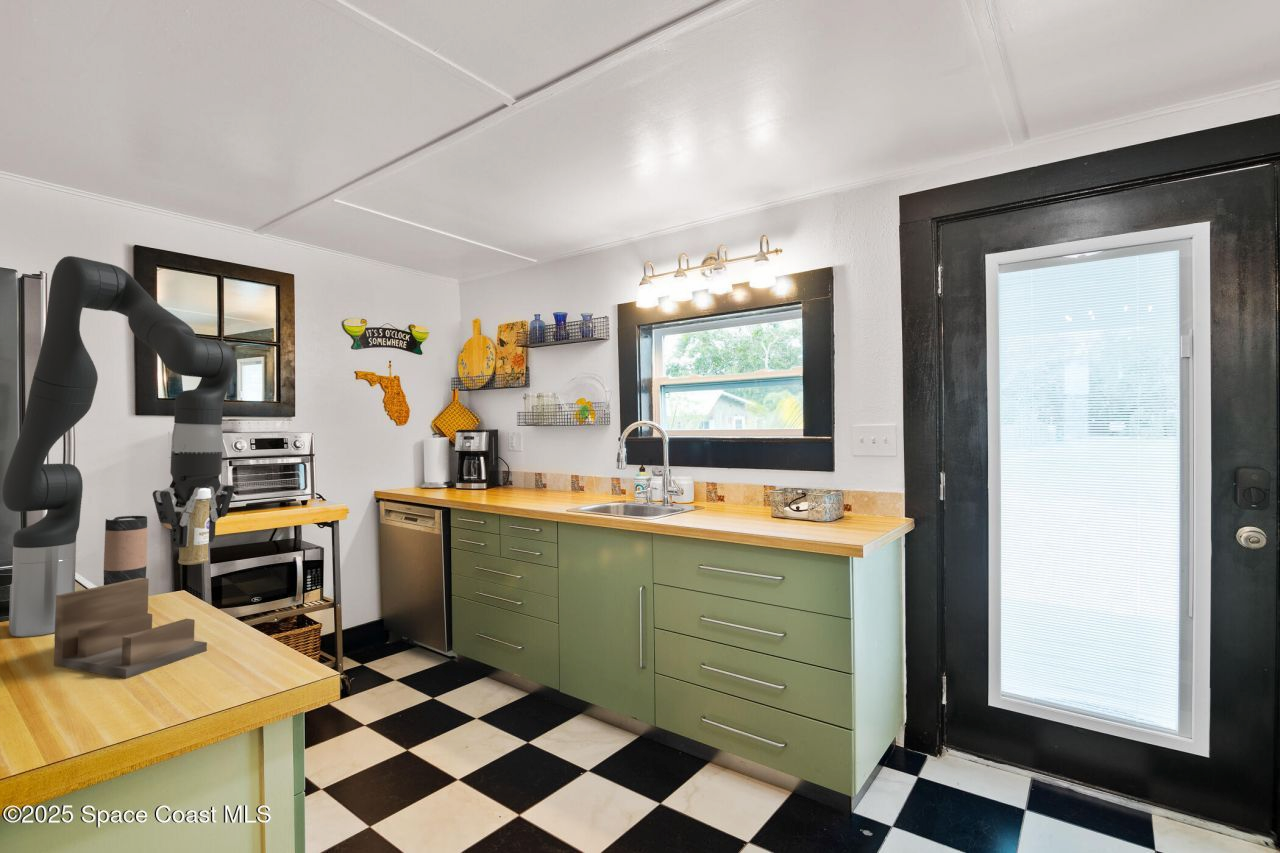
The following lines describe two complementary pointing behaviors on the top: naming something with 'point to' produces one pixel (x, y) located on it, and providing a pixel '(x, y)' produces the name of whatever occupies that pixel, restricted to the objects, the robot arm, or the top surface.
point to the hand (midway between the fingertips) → (193, 544)
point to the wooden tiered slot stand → (117, 632)
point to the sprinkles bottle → (197, 531)
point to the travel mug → (125, 549)
